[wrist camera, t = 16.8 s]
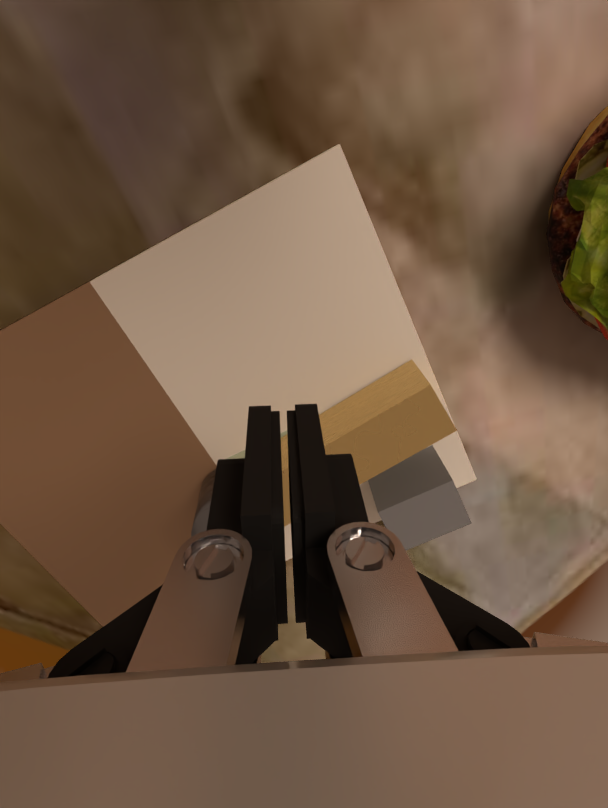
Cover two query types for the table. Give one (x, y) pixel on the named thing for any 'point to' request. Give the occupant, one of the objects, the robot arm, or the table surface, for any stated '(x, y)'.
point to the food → (583, 227)
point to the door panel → (204, 383)
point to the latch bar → (367, 431)
